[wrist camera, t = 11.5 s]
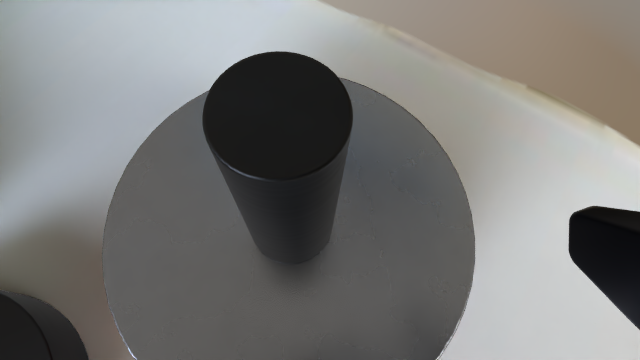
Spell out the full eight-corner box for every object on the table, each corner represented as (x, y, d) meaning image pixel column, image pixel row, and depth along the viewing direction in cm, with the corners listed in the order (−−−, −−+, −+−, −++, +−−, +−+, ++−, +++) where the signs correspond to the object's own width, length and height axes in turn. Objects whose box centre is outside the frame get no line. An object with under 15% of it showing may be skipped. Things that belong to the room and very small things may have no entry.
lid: (542, 281, 15) (780, 208, 7) (219, 531, 12) (72, 831, 4) (338, 37, 19) (359, -174, 11) (57, 180, 16) (-168, 24, 8)
